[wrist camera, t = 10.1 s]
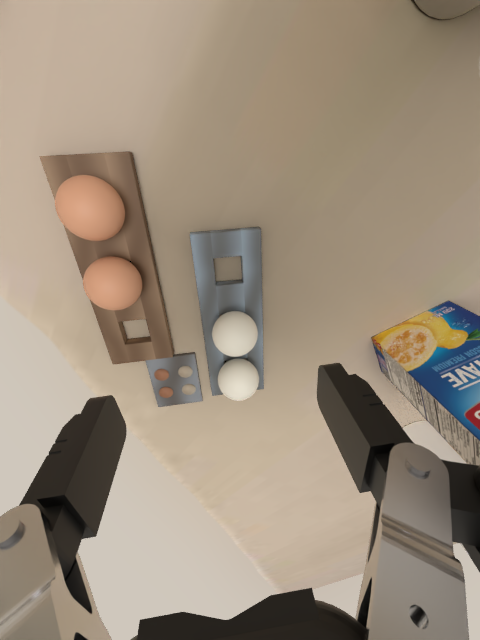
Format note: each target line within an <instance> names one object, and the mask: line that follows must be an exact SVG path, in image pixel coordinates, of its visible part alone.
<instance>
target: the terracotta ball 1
mask: <svg viewBox="0 0 480 640" xmlns="http://www.w3.org/2000/svg"><path fill="white" fill-rule="evenodd" d="M55 207H56V211H57V214H58V216H59V218H60V220H61V222H62V223H63V224H64V226H65V227H66V228H67V229H68V230H69V231H70V232H72V233H73V234H75V235H76V236H78V237H80V238H83V239H86V240H90V241H103V240H107V239H109V238H111V237H113V236H114V235H116V234H117V233H118V232H119V231H120V229H121V228H122V226H123V223H124V219H125V209H124V205H123V202H122V199H121V197H120V196H119V194H118V193H117V191H116V190H115V189H114V188H113V187H112V186H111V185H110V184H108V183H107V182H105V181H104V180H102V179H100V178H97V177H94V176H90V175H77V176H73V177H71V178H69V179H67V180H66V181H64V182H63V183H62V184H61V185H60V187H59V188H58V191H57V193H56V197H55Z"/></svg>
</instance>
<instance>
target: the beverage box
mask: <svg viewBox="0 0 480 640" xmlns="http://www.w3.org/2000/svg"><path fill="white" fill-rule="evenodd" d="M371 338H372V341H373V344H374V348H375V351H376V355H377V358H378V361H379V365H380V368H381V371H382V372H383V373H384V374H385V376H386V377H387V378H388V379H389V380H390V381H391V382H392V383H393V384H394V385H395V386H396V387H397V388H398V390H399V391H400V392H401V393H402V394H403V395H404V396H405V397H406V398H407V399H408V400H409V401H410V402H411V404H412V405H413V406H414V407H415V408H416V409H417V410H418V411H419V412H420V413H421V414H422V415H423V416H424V418H425V419H426V420H427V421H428V422H429V423H430V424H431V425H432V426H433V427H434V428H435V429H436V431H437V432H438V433H439V434H440V435H441V436H442V437H443V438H444V439H445V440H446V441H447V442H448V443H449V445H450V446H451V447H452V448H453V449H454V450H455V451H456V452H457V453H458V454H459V455H460V456H461V457H462V459H463V460H464V461H465V462H466V463H467V464H472V465H478V466H479V465H480V316H478V315H476V314H474V313H472V312H470V311H468V310H466V309H464V308H462V307H460V306H458V305H456V304H454V303H452V302H450V301H447V302H445V303H442V304H440V305H438V306H436V307H434V308H432V309H430V310H428V311H426V312H424V313H421V314H419V315H417V316H415V317H413V318H411V319H409V320H407V321H405V322H403V323H400V324H398V325H396V326H394V327H392V328H390V329H388V330H386V331H384V332H382V333H379V334H377V335H375V336H373V337H371Z"/></svg>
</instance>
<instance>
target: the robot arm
mask: <svg viewBox="0 0 480 640" xmlns="http://www.w3.org/2000/svg"><path fill="white" fill-rule="evenodd" d="M414 1H415V3H416V4H417V5H418V7H419V8H420V9H421V10H422V11H423V12H425V13H426V14H427V15H429V16H431V17H434V18H437V19H452V18H455V17H458V16H461V15H463V14H465V13H467V12H468V11H470V10H472V9H473V8H475V7H477V6H478V5H480V0H414ZM317 400H318V405H319V408H320V410H321V412H322V414H323V417H324V419H325V421H326V423H327V425H328V427H329V429H330V431H331V433H332V436H333V438H334V440H335V442H336V444H337V446H338V448H339V450H340V452H341V454H342V457H343V459H344V461H345V463H346V465H347V467H348V469H349V471H350V473H351V475H352V478H353V480H354V482H355V484H356V486H357V488H358V490H359V492H360V493H362V492H368V491H371V492H372V494H373V496H374V498H375V500H376V503H375V508H374V515H373V521H372V527H371V534H370V540H369V546H368V553H367V559H366V565H365V571H364V575H363V580H362V585H361V590H360V595H359V601H358V607H357V614H356V619H355V618H353V617H352V616H350V615H349V614H347V613H346V612H344V611H343V610H341V609H339V608H337V607H335V606H333V605H330V604H328V603H325V602H322V601H318V600H315V599H314V595H313V592H312V588H309V589H303V590H298V591H292V592H287V593H282V594H276V595H271V596H269V597H267V598H266V599H264V600H262V601H261V602H259V603H257V604H256V605H254V606H252V607H250V608H249V609H247V610H246V611H244V612H242V613H240V614H239V615H237V616H235V617H234V618H232V619H229V620H221V619H216V618H211V617H206V616H201V615H196V614H191V613H186V612H180V613H174V614H170V615H164V616H159V617H153V618H148V619H142V620H140V624H139V630H138V635H137V636H135V637H134V638H132V639H131V640H469V633H468V619H467V606H466V593H465V580H464V573H463V568H462V565H461V563H460V561H459V560H458V559H456V558H455V557H454V553H453V542H457V543H462V545H463V546H464V548H465V550H466V551H467V553H468V554H469V556H470V557H471V559H472V561H473V562H474V564H475V565H476V567H477V568H478V570H479V572H480V465H479V466H478V465H472V464H465V463H458V462H451V461H446V460H442V459H440V458H439V457H438V456H437V455H436V454H434V453H433V452H432V451H430V450H429V449H427V448H425V447H423V446H420V445H418V444H414V443H413V441H412V440H411V439H410V438H409V436H408V435H407V434H406V432H405V431H404V430H403V428H402V427H401V426H400V425H399V423H398V422H397V421H396V419H395V418H394V417H393V415H392V414H391V413H390V411H389V410H388V409H387V407H386V406H385V405H383V402H382V401H381V400H380V398H379V397H378V396H376V393H375V392H374V390H373V389H372V388H371V386H370V385H369V384H368V382H366V381H365V380H363V379H362V378H360V377H359V376H357V375H356V374H353V375H348V374H347V372H346V371H345V369H344V368H343V366H342V365H341V364H340V363H334V364H327V365H321V366H319V369H318V384H317ZM125 438H126V424H125V421H124V419H123V416H122V414H121V412H120V410H119V407H118V405H117V403H116V401H115V398H114V397H113V396H111V395H109V396H103V397H96V398H90V399H89V400H88V401H87V403H86V405H85V406H84V409H83V410H82V412H81V414H78V415H75V416H74V417H73V418H72V419H71V420H70V421H69V422H68V423H67V424H66V425H65V426H64V427H63V428H62V430H61V432H60V434H59V435H58V437H57V439H56V441H55V444H53V446H52V448H51V450H50V451H49V455H48V456H47V457H46V459H45V460H44V462H43V464H42V466H41V467H40V469H39V471H38V473H37V475H36V476H35V478H34V480H33V482H32V484H31V485H30V487H29V489H28V491H27V493H26V494H25V496H24V498H23V500H22V501H21V503H20V505H19V506H17V507H15V508H13V509H11V510H9V511H7V512H6V513H4V514H3V515H2V516H1V517H0V640H112V639H111V637H110V635H109V633H108V631H107V629H106V627H105V626H104V624H103V622H102V621H101V618H100V616H99V613H98V611H97V607H96V605H95V601H94V598H93V595H92V592H91V589H90V586H89V583H88V580H87V577H86V574H85V571H84V568H83V565H82V562H81V559H80V556H79V554H78V552H77V551H78V548H79V545H80V542H81V539H84V538H90V537H95V536H96V534H97V531H98V528H99V525H100V521H101V518H102V515H103V512H104V508H105V505H106V501H107V498H108V495H109V492H110V488H111V485H112V482H113V478H114V475H115V471H116V469H117V465H118V462H119V459H120V455H121V452H122V448H123V445H124V442H125Z"/></svg>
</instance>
